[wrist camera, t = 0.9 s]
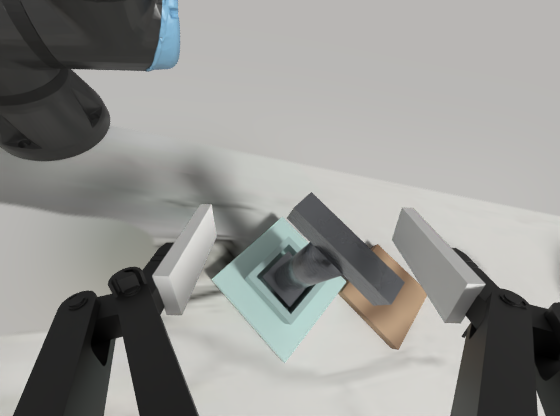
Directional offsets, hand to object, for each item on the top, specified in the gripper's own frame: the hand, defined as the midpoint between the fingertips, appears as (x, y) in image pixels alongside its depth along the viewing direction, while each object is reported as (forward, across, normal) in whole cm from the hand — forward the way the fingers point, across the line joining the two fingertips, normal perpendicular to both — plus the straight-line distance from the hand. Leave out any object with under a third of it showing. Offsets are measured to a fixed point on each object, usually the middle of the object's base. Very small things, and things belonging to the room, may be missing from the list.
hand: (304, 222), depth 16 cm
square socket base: (+11, -2, -18) cm, 21 cm away
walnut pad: (+12, +15, -22) cm, 29 cm away
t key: (+10, -2, -16) cm, 19 cm away
